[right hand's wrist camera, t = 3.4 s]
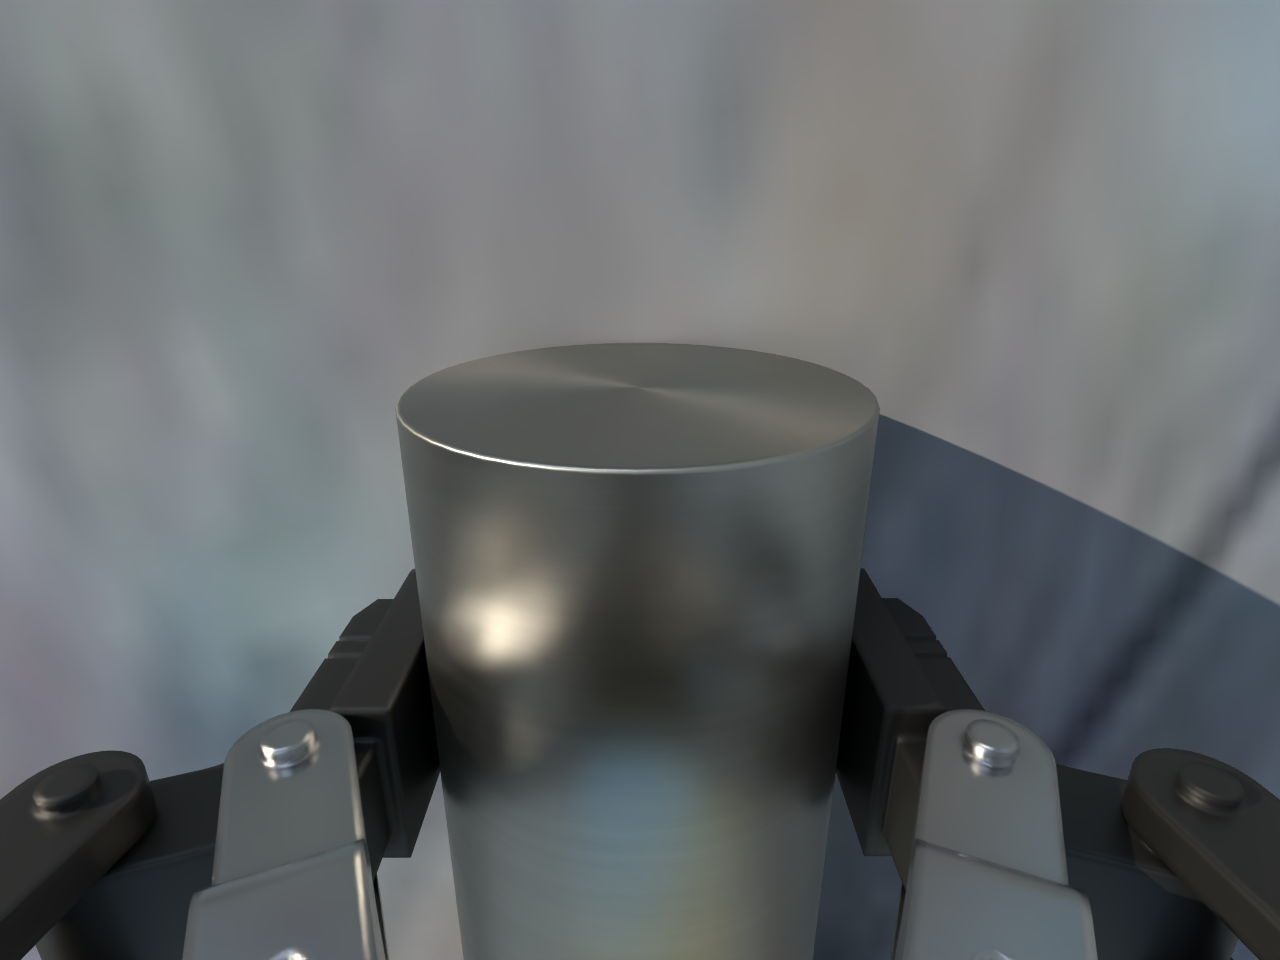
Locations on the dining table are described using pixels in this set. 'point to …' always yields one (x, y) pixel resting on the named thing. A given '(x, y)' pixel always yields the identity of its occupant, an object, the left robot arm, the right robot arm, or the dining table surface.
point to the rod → (637, 641)
